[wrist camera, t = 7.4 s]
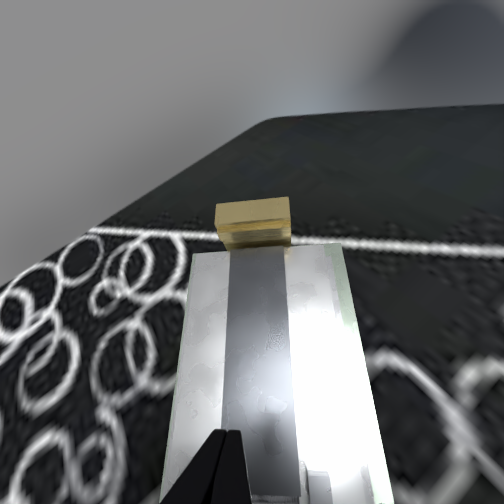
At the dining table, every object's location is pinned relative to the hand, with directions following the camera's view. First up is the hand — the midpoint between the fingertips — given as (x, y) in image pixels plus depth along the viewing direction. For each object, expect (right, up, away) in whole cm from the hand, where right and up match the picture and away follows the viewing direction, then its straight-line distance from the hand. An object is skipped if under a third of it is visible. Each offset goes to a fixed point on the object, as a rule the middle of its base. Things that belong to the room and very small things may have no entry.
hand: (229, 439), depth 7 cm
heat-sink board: (+2, -4, +13) cm, 14 cm away
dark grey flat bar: (+1, -1, +8) cm, 9 cm away
